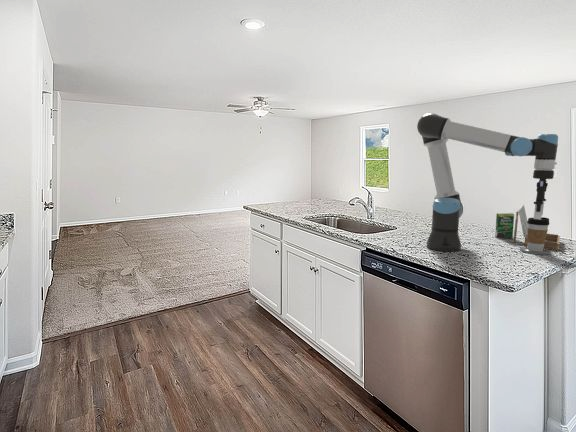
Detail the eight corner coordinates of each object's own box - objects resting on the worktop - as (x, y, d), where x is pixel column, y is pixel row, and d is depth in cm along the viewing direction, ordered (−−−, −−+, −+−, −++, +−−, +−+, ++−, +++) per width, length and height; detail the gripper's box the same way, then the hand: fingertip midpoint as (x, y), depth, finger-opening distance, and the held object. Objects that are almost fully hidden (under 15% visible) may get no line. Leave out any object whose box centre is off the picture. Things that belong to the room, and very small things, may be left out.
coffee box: (496, 237, 197) (498, 213, 195) (494, 236, 200) (496, 212, 198) (512, 238, 196) (515, 214, 193) (510, 237, 198) (513, 213, 196)
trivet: (542, 256, 161) (542, 254, 161) (514, 250, 171) (514, 249, 171) (556, 252, 167) (556, 251, 167) (528, 247, 177) (528, 245, 177)
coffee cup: (549, 252, 164) (553, 219, 162) (528, 252, 166) (532, 219, 163) (541, 248, 172) (544, 216, 170) (521, 247, 174) (524, 216, 171)
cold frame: (558, 250, 171) (563, 212, 168) (512, 244, 182) (515, 209, 179) (559, 241, 188) (563, 207, 185) (516, 236, 199) (519, 204, 196)
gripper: (553, 170, 151) (547, 221, 154) (554, 169, 171) (549, 214, 174) (531, 170, 155) (526, 219, 159) (535, 168, 175) (530, 212, 179)
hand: (538, 217), depth 166 cm, fingers open, 13 cm apart
